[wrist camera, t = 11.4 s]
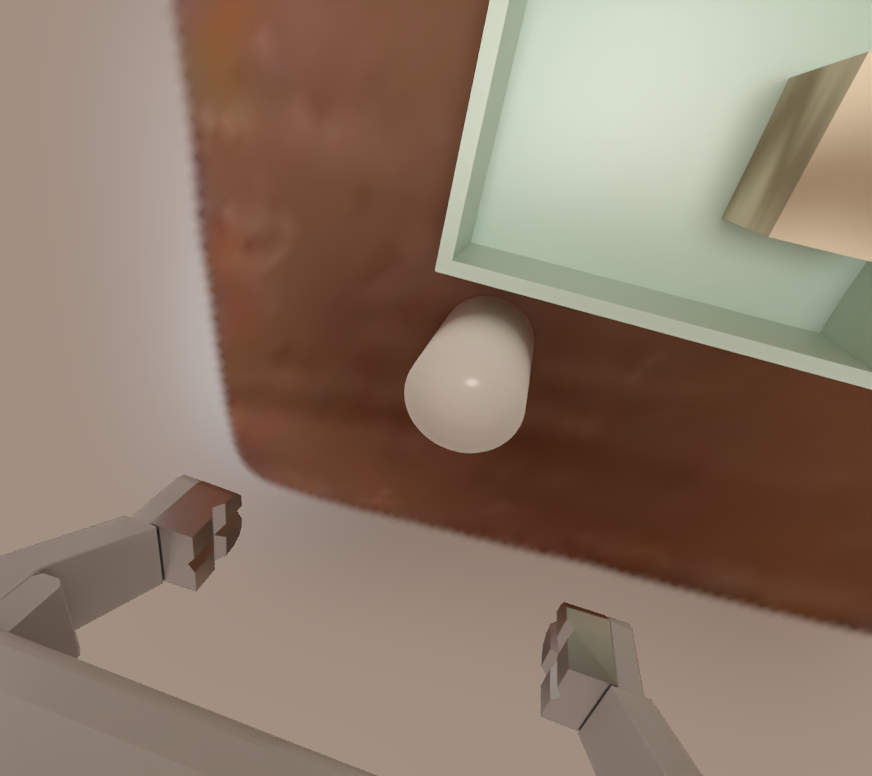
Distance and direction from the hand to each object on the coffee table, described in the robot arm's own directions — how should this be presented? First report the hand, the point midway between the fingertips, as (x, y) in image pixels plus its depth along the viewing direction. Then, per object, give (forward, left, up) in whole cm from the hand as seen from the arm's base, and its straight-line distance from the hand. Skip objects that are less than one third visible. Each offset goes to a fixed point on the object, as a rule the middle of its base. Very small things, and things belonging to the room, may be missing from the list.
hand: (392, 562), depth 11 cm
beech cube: (-11, -11, -15) cm, 21 cm away
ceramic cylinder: (0, 0, -16) cm, 16 cm away
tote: (-6, -11, -16) cm, 20 cm away
